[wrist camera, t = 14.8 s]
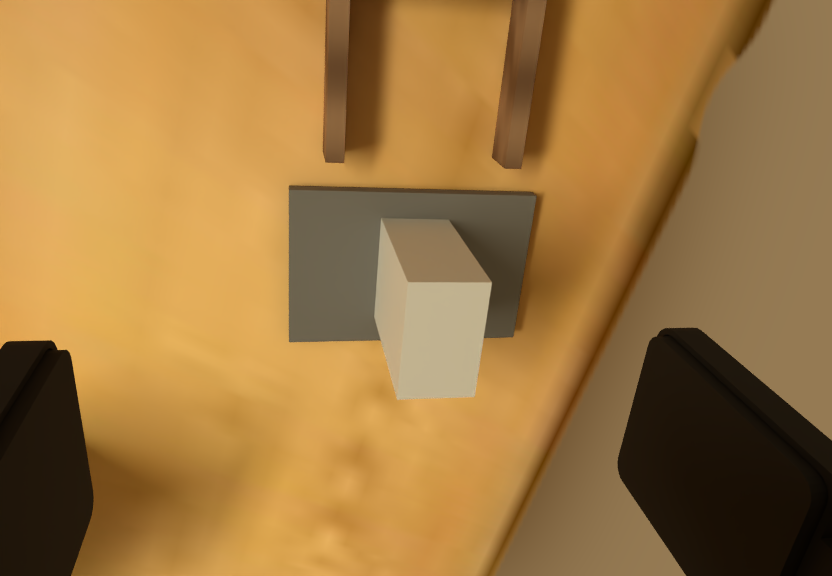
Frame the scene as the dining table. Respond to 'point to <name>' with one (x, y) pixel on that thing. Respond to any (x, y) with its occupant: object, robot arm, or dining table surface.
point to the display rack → (513, 90)
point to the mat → (359, 249)
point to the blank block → (430, 308)
